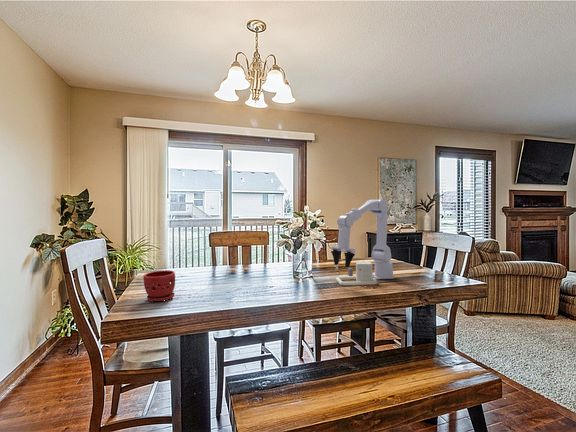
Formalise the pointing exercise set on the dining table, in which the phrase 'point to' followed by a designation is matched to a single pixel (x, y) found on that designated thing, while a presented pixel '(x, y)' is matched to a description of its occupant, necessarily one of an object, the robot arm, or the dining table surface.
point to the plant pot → (159, 285)
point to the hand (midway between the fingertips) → (341, 265)
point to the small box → (364, 271)
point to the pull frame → (350, 276)
